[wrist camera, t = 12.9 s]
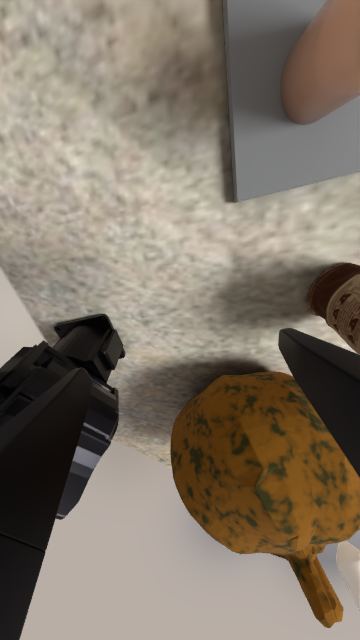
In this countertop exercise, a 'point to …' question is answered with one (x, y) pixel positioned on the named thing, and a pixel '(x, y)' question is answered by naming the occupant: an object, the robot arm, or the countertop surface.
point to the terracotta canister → (323, 64)
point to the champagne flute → (350, 568)
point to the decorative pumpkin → (267, 476)
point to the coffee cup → (339, 301)
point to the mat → (278, 104)
